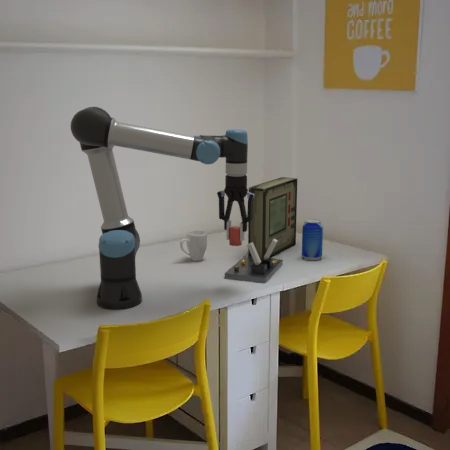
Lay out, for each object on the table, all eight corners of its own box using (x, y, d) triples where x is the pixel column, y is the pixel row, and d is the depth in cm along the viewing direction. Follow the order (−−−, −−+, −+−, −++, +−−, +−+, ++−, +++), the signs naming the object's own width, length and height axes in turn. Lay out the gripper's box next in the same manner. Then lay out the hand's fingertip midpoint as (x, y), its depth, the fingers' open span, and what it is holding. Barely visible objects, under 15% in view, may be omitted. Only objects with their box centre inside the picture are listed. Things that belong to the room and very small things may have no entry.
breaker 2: (266, 260, 241) (276, 242, 238) (262, 258, 242) (272, 240, 239) (268, 258, 244) (278, 240, 241) (264, 256, 244) (274, 238, 241)
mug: (199, 255, 265) (199, 229, 263) (211, 260, 259) (210, 233, 256) (175, 260, 258) (175, 233, 256) (186, 265, 252) (186, 238, 249)
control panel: (264, 261, 257) (265, 189, 250) (248, 258, 261) (248, 187, 254) (295, 244, 282) (297, 178, 275) (280, 242, 286) (282, 177, 278)
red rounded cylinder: (239, 246, 221) (239, 230, 220) (227, 245, 223) (227, 228, 221) (243, 243, 225) (243, 227, 224) (231, 242, 227) (231, 226, 225)
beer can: (300, 260, 259) (301, 222, 255) (302, 254, 266) (304, 217, 263) (321, 261, 257) (322, 223, 253) (322, 255, 265) (324, 218, 261)
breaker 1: (259, 264, 234) (250, 243, 233) (255, 266, 235) (246, 245, 234) (261, 262, 237) (252, 242, 236) (258, 263, 237) (249, 243, 237)
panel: (265, 283, 231) (265, 270, 230) (224, 278, 236) (224, 265, 235) (282, 264, 253) (282, 252, 252) (244, 260, 258) (245, 248, 257)
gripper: (263, 174, 218) (261, 239, 224) (216, 171, 224) (216, 234, 230) (256, 177, 211) (255, 244, 217) (209, 174, 217) (208, 239, 223)
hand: (235, 239), depth 223 cm, fingers closed on red rounded cylinder, 4 cm apart
